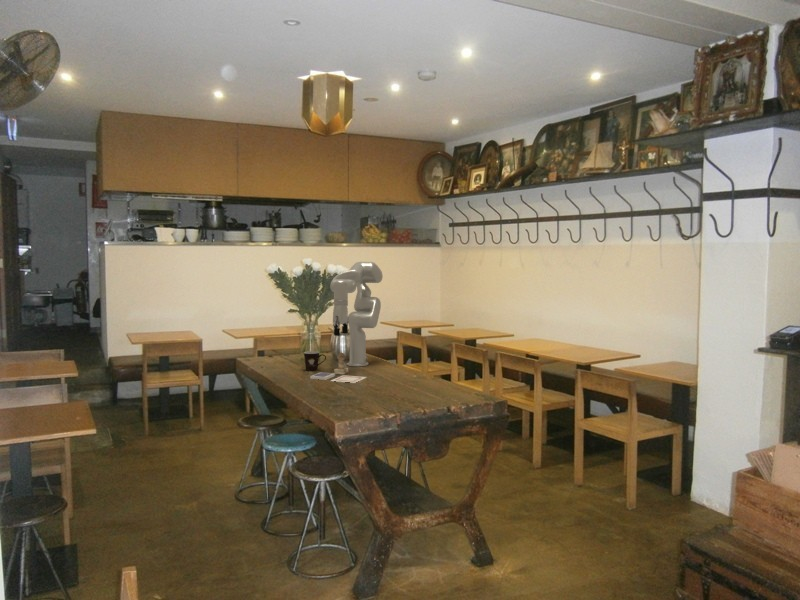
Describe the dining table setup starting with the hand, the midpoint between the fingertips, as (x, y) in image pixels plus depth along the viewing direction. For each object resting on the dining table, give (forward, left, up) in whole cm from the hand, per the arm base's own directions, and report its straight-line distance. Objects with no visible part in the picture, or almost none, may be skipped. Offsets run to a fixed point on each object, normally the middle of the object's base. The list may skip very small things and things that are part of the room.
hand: (341, 334), depth 338 cm
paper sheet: (+11, +10, -22) cm, 27 cm away
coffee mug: (-4, -19, -22) cm, 29 cm away
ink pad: (+12, -5, -22) cm, 25 cm away
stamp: (0, 0, -22) cm, 22 cm away
